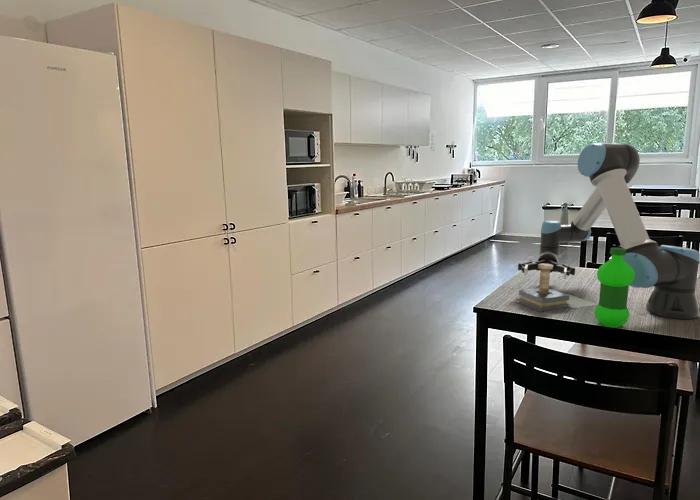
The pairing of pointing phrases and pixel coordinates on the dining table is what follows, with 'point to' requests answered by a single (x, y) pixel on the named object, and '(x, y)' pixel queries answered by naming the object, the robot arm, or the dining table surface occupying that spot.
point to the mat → (578, 302)
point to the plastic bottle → (614, 289)
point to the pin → (544, 278)
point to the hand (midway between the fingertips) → (544, 273)
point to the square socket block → (543, 299)
